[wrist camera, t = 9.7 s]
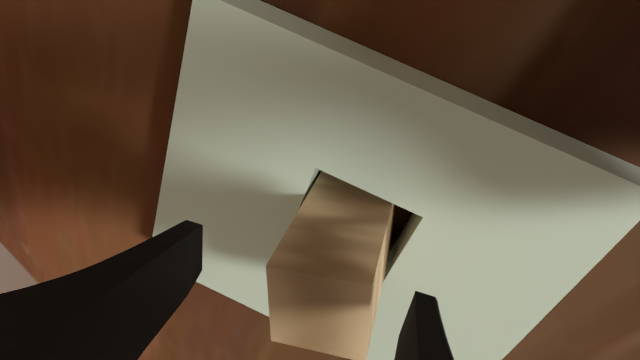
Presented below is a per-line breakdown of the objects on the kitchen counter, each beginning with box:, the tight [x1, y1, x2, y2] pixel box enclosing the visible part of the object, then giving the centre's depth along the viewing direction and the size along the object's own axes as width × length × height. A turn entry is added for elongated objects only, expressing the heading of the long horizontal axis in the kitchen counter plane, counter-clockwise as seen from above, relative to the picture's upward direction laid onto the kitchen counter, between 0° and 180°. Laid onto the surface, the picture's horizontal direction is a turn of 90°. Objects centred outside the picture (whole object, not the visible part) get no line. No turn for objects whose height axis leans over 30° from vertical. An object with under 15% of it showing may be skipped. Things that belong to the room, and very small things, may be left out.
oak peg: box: [266, 171, 395, 360], centre depth 20 cm, size 4×4×8 cm
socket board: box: [152, 0, 640, 360], centre depth 22 cm, size 20×16×2 cm
